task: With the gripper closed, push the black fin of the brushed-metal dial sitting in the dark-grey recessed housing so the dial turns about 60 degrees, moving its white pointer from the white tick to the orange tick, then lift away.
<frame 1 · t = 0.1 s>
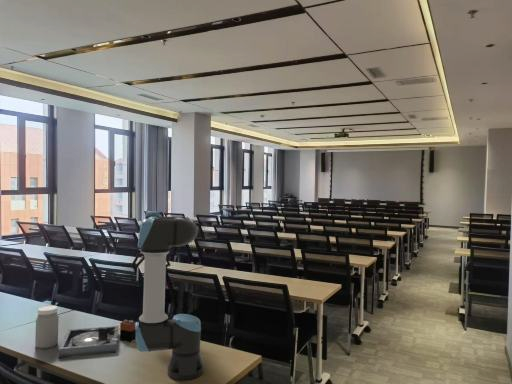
hand: (150, 279, 202), 28 cm above the table, fingers open, 13 cm apart
battery: (127, 340, 191), on the table
housing: (90, 344, 183), on the table
jar: (46, 345, 181), on the table
dial: (91, 334, 183), point 5 cm above the table, hinge at -120.0°
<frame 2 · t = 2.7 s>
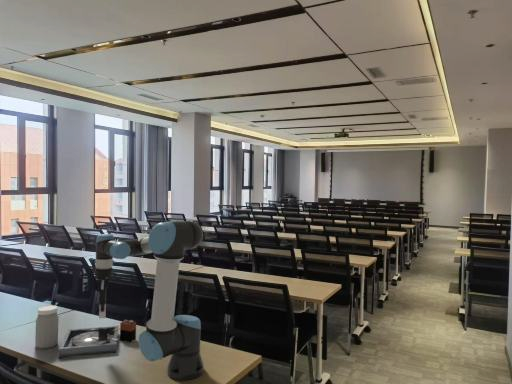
hand: (102, 317, 176), 16 cm above the table, fingers closed
nothing on the table moved.
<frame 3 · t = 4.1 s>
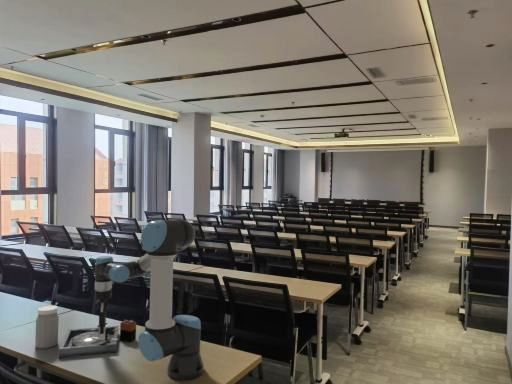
hand: (101, 339, 177), 5 cm above the table, fingers closed
nothing on the table moved.
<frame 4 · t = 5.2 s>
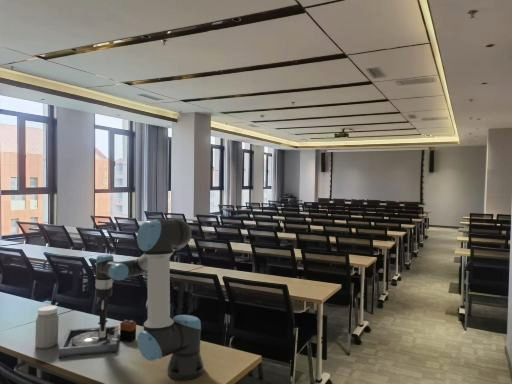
hand: (102, 336, 180), 5 cm above the table, fingers closed
dial: (91, 334, 183), point 5 cm above the table, hinge at -119.8°, touching gripper
everything else where it was.
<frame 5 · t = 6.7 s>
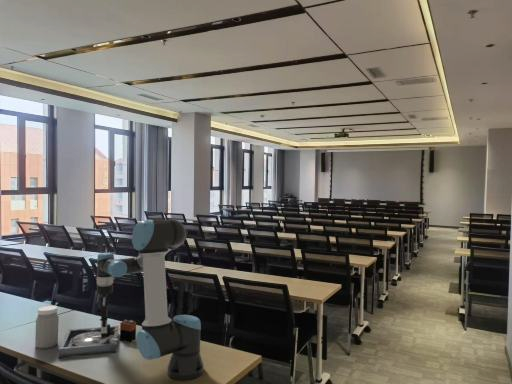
hand: (104, 332, 185), 5 cm above the table, fingers closed
dial: (91, 334, 183), point 5 cm above the table, hinge at -80.8°, touching gripper
everything else where it was.
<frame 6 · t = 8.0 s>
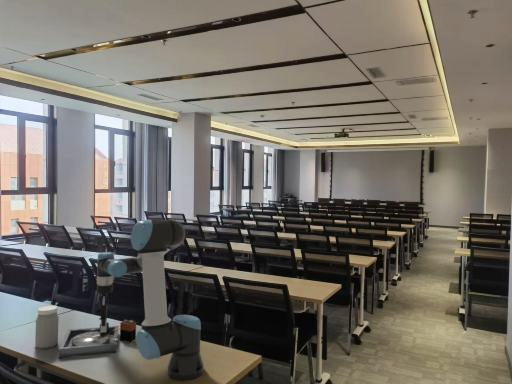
hand: (103, 331, 186), 5 cm above the table, fingers closed
dial: (91, 334, 183), point 5 cm above the table, hinge at -59.9°, touching gripper
everything else where it was.
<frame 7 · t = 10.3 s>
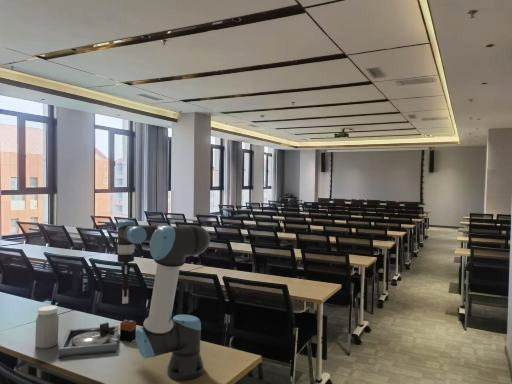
hand: (125, 302, 179), 22 cm above the table, fingers closed
dial: (91, 334, 183), point 5 cm above the table, hinge at -60.4°
everything else where it was.
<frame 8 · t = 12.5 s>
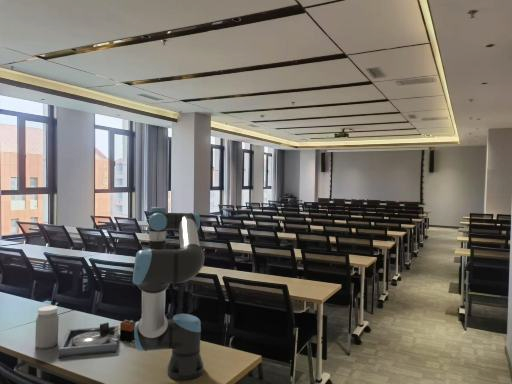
hand: (155, 290, 177), 29 cm above the table, fingers closed
nothing on the table moved.
at the end: dial at -60° (first picture: -120°) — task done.
